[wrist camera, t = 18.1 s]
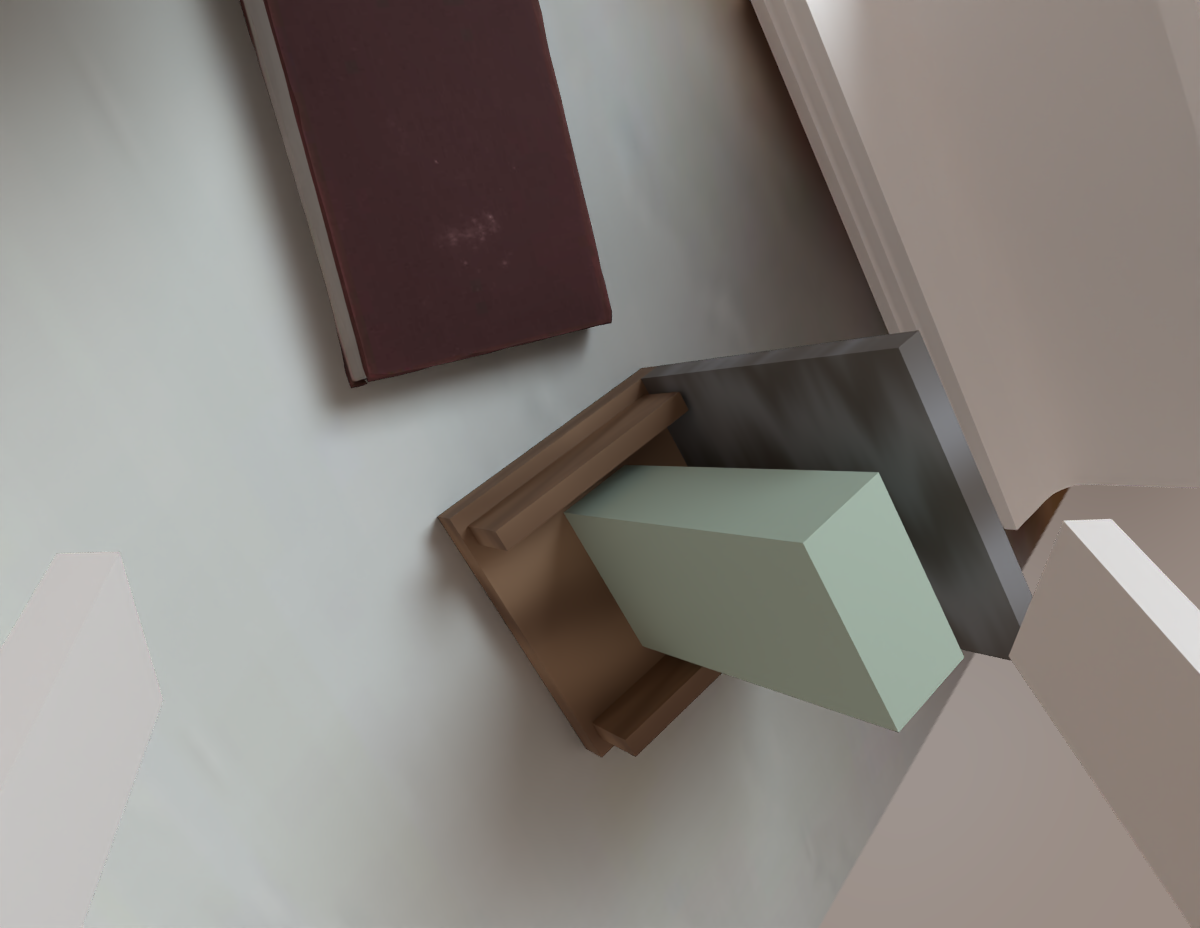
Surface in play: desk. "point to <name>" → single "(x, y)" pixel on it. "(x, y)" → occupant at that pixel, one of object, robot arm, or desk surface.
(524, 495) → the slot board
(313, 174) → the book
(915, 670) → the grey-green tall block
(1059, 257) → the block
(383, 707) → the desk surface
